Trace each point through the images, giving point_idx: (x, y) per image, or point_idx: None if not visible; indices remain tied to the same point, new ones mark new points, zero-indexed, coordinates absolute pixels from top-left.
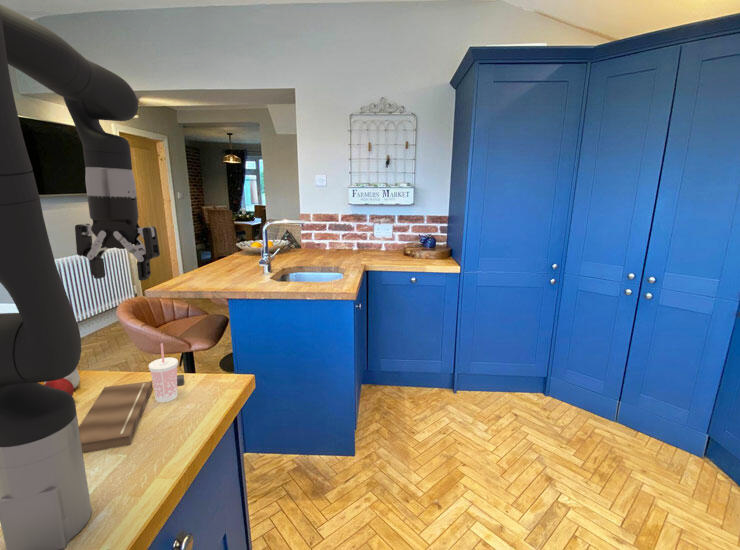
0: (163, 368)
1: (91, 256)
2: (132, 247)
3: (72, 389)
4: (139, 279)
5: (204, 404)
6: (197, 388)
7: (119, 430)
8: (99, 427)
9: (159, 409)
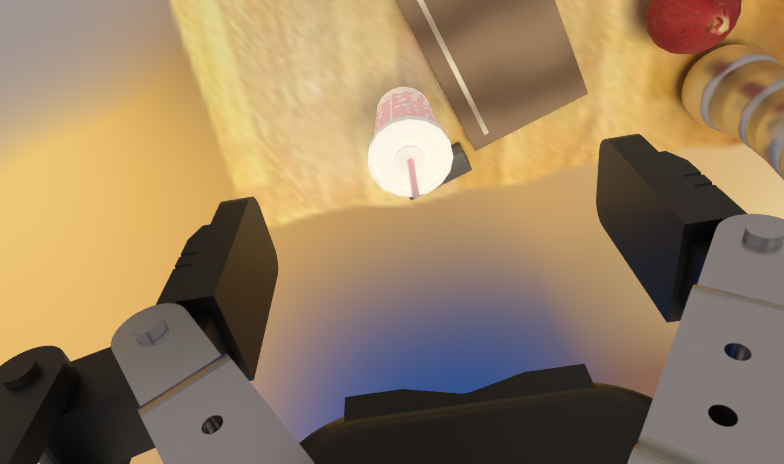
0: (385, 130)
1: (746, 241)
2: (148, 419)
3: (652, 31)
4: (244, 198)
5: (277, 104)
6: (350, 167)
7: None
8: None
9: (379, 55)
